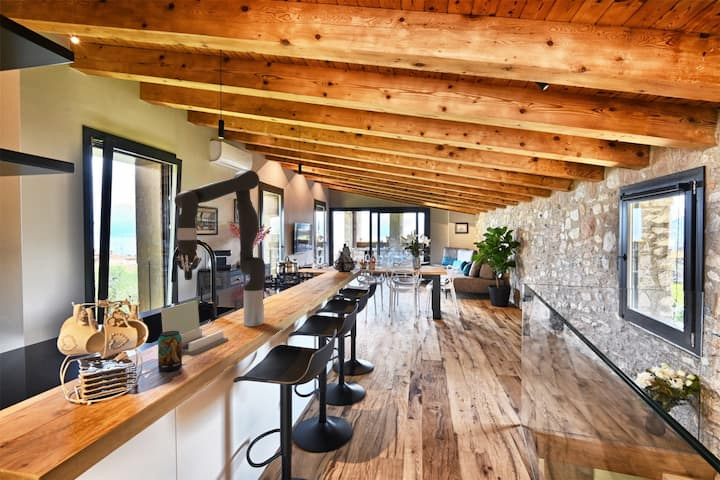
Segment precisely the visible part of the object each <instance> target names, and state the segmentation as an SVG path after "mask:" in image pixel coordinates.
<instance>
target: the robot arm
mask: <svg viewBox="0 0 720 480" xmlns="http://www.w3.org/2000/svg"><path fill="white" fill-rule="evenodd" d="M259 184H260V176H259V174H258V172H255V171H254V170H250V169H247V170H240V171H237V172H236V173H235V174H234V177H233V178H229V179H224V180H221V181H220V180H219V181H216V182H211V183H207V184H205V185H201V186H199V187H197V188H193V189H189V190H184V191H182V192H179V193H177V194H175V196H174V200H173V201H174V204H175V206H176V207H178V208H179V209H181V210H180V214H179V215H178V217H177V251H178V256H177V257H174V261H175V263H176V264H177V266H178V268H179V269H180V270H182V271H183V272H184V280H185V281H192V279H193V271H195V270H196V269H197V268H198V266H199V264H200V263H201V261H202V257H199V256H198V254H197V253H198V252H197V250H198V233H197V232H198V231H197V219H196V218H197V215H198V209H199V204H202V203H208V202H210V201H214V200H216V199H219V198H222V197H224V196H225V197H226V196H227V195H230V194H233V193H235V197H236V202H237V203H236V207H237V215H238V216H237V217H238V219H237V220H238V230H239V245H240V248H239V249H240V251H239V253H240V254H239V268H240V272H241V273H242V274H243V275H244V276H250V277H249V281H248V282H246V283H244V284H243V326H245V327H259V326H262V325H264V322H265V320H264V319H265V312H264V311H265V310H264V307H265V304H264V285H265V283H266V282H265V281H266V263H265V261H264V259H263V258H261V257H258V256H255V257H254V245H255V244H254V243H255V241H256V239H257V238H258V237H257V236H258V235H259V229H260V227H259V217H258V213H257V212H256V209H255V207H254V205H253V202H252V200H251V190H254V189H255V188H257V187H258V186H259Z"/></svg>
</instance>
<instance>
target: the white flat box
mask: <svg viewBox="0 0 720 480" xmlns="http://www.w3.org/2000/svg"><path fill="white" fill-rule="evenodd" d="M181 337H182V355H190V356H195V355H198V354H201V353H203V352H205V351H207V350H209V349H212V348H214V347H216V346H219V345H221V344H223V343H226V342H227V341H229V337H224V330H219V331H217V332H214V333H211V334H209V335H203V328H199V329H196V330H194V331H191V332H188V333H185V334H182V335H181Z"/></svg>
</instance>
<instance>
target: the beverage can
mask: <svg viewBox="0 0 720 480" xmlns="http://www.w3.org/2000/svg"><path fill="white" fill-rule="evenodd" d="M182 356H183V354H182V337H181V335H180V334H179V331H167V332H163V331H162V332H161V333H160V335H159V337H158V339H157V357H158V358H157V359H158V360H157V362H158V363H157V364H158V365H157V367H158V368H157V369H158V370H160V372H162V373H169V372H170V373H171V372H174V371H178V370H180V368H181V367H182V366H183V361H182V360H183V359H182V358H183V357H182Z"/></svg>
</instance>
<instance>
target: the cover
mask: <svg viewBox="0 0 720 480" xmlns="http://www.w3.org/2000/svg"><path fill="white" fill-rule="evenodd" d="M160 311H161V313H160V314H161V326H162V333H163V332H167V331H179V334H180V335H183V334H186V333H189V332H191V331H194V330H197V329H201V328H200V327H201V326H200V316H199V305H198V300H193V301H190V302H189V301H188V302H185V303H180V304H177V305H172V306H169V307H165V308H160Z"/></svg>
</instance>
